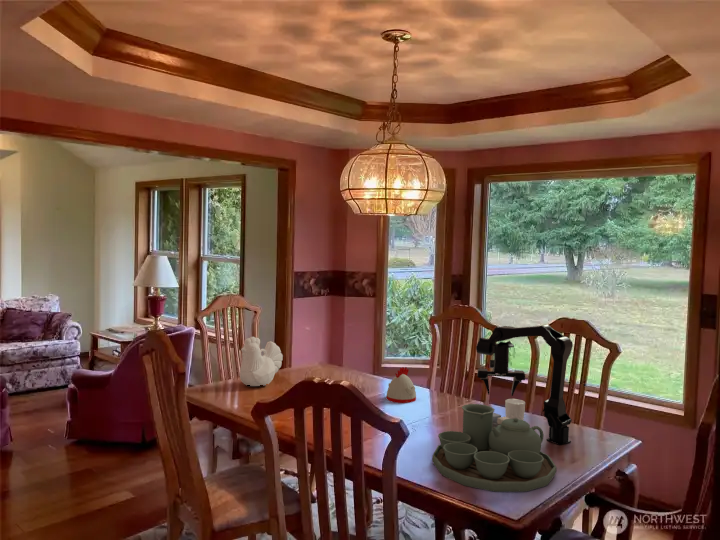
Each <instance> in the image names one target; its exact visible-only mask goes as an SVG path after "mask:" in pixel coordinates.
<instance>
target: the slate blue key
mask: <svg viewBox="0 0 720 540" xmlns="http://www.w3.org/2000/svg"><path fill="white" fill-rule="evenodd" d="M500 417H502V415H501V414H498V413H496V412H493V422H497V418H500Z"/></svg>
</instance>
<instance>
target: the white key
mask: <svg viewBox="0 0 720 540" xmlns="http://www.w3.org/2000/svg"><path fill="white" fill-rule="evenodd" d="M505 419H510V418H507V417H506V416H501V417H500V418H497V424H500V425H501V422H502V421H503V420H505Z"/></svg>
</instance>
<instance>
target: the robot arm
mask: <svg viewBox="0 0 720 540" xmlns="http://www.w3.org/2000/svg"><path fill="white" fill-rule="evenodd" d="M538 336H539V337H541V338H542V339H543V340H544V342H545V343H546V344H547V345H548V346H549V348H550V352H551V353H550V354H551V357H552V359H553V362H552V363H553V366H552V375H551V383H550V384H551V385H550V394H549V395H550V397H549V398H548V399H546V400H544V401H543V409H542V413H543V415H544V417H545V419H546V421H547V424H548V427H549V428H548V438H546V441H549V442H550V443H554V444H556V445H559V446H562V445H566V444H570V443H572V441H571V440H569V435H570V434H569V433H570V432H569V431H570V426H569V425H571V423H572V418H571V417H570V416H569V414H568V413H567V411H566V409H567V408H566V403H565V399H564V390H565V381H566V370H567V361H568V360H569V358H570V355H571V353H572V350H573V347H574V346H573V341H572V339H570V338H569V337H568V336H565V335H563V334H562V333H561V332H559V331H557V330H555V329H554V328H553V327H552V326H551V325H548V324H542V325H535V326H524V327H521V326H520V327H516V326H512V325H511V326H510V325H502V326H497V327H495V328H493V330H492V334H491V335H490V337H489V338H486V337H479V340H478V342H477V343H476V347H475V348H476V349H475V350H476V353H477V354H478V355H479V354H480V355H485V356H492V355H494V356H493V359H489V369H493V371H491V370H488V368H482V367H481V368H480V367H479V368H478V369H477V373H476V374H477V378H478V379H480V380H481V381H483V383H484V385H485V387H486V391H487V395H490V384H489V377H501V378H502V377H504V378H505V377H506V378H512V384H511V385H512V386H511V397H513V396H514V394H515V392H516V389H517V386H519V383H522V382H523V381H525V380H526V373H525V371H524V370H513V372H512V371H511V372H510V371H509V364H510V363H509V359H510V358H509V357H510V356H509V355H510V353H509V351H510V349H511V348H514V347H515V345H514V343H512V342H511V339H515V338H525V337H538ZM507 340H508V341H507ZM504 341H506V342H504Z"/></svg>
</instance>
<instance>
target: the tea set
mask: <svg viewBox="0 0 720 540" xmlns="http://www.w3.org/2000/svg"><path fill="white" fill-rule="evenodd" d="M461 408H462V411H463V413H462V414H463V415H462V416H463V417H462V431H455V430H447V431H446V430H445V431H442V432H440V433H438V436H437V437H438V439H439V442H440V443H439V445H437V446H436V448H435V450H434V452H433V454H432V460H431V461H432V463H433V465H434V466H435V468H436V469H437V471H438V472H439V473H440V474H441V476H443V477H445V478H447V479H450V480H452V481H454V482H456V483H458V484H460V485H462V486H465V487H469V488H474V489H479V490H486V491H488V492H489V491H490V492H495V493H496V492H500V493H501V492H503V493H504V492H505V493H508V492H509V493H510V492H512V493H514V492H515V493H516V492H517V493H518V492H520V493H521V492H523V493H525V492H528V491H529V492H530V491H533V490H536V489H540V488H543V487H547V486H548V485H549V483H550V482H551V481H552V479H553V478H554V477H555V475H556V474H557V465H556V464H555V462H554V461H553V459H552V458H551V457H550V455H549V454H547V453H545V452H543V451H541V449H542V443H543V440H544V436H545V435H544V434H545V433H544V431H543V429H542V428H541V427H539V426H538V425H534V426H532V427H531V425H530V423H528V422H527V421H526V420H520V419H517V418H514V419H505V420H503V421H502V422H501V425H498V426H497V427H496V428H495V427H493V428H492V423H493V413H495V410H496V409H495V408H493V407H492V406H490V405H487V404H481V403H468V404H464V405H462V406H461ZM536 430H538V432H539V433H538V432H537V431H536Z"/></svg>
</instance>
